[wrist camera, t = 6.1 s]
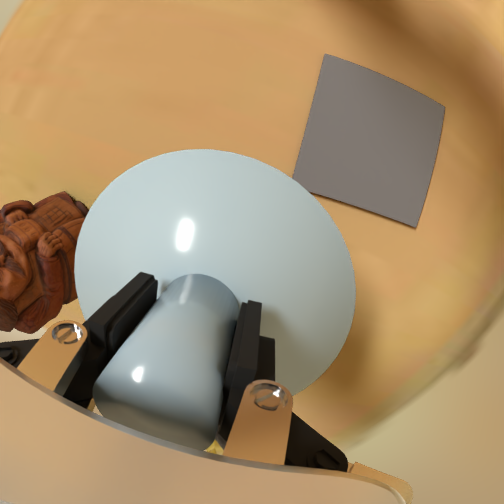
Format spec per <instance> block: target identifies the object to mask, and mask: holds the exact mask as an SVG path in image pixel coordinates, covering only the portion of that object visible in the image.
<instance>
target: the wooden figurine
mask: <svg viewBox="0 0 504 504" xmlns="http://www.w3.org/2000/svg"><path fill="white" fill-rule="evenodd" d="M88 212H89V210H88V209H87V208H86V207H85V206H84V204H83V203H82V202H80V201H76V202H74V203H73V201H72V199H71V197H70V196H69V195H68V194H67V193H66V192H60V193H58V194H55V195H51V196H49V197H47V198H45V199H43V200H41V201H39V202H37V203H36V204H35V205H33V204H32V203H31V202H29V201H24V200H19V201H15V202H12V203H8V204H6V205H4V206H3V207H2V209H1V210H0V330H1V331H6V332H11V330H13V328H15V329H17V330H18V331H21V332H24V333H28V334H33V333H35V332H36V331H38V330H39V329H40V328H41V327H43V326H44V325H45V324H46V323H47V322H48V321H50V320H52V319H53V318H55V317H56V316H57V315H58V314H59V312H60V310H61V308H62V305H64V304H68V303H70V302H72V301H73V300H75V299H77V298H78V295H77V291H76V284H75V273H74V267H75V252H76V246H77V241H78V237H79V234H80V231H81V228H82V225H83V222H84V220H85V218H86V216H87V214H88Z"/></svg>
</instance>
